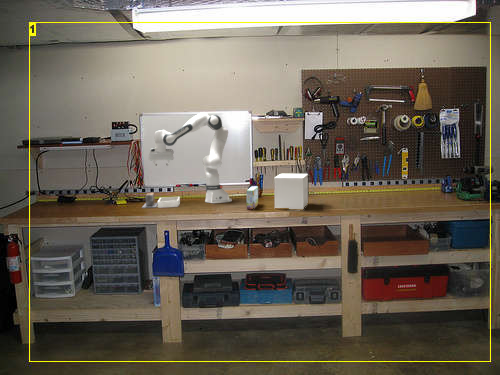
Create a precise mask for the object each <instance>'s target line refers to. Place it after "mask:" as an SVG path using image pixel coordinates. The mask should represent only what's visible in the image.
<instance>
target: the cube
mask: <svg viewBox="0 0 500 375" xmlns="http://www.w3.org/2000/svg"><path fill="white" fill-rule="evenodd" d="M308 176H309V174H308V173H280V174H278V175H276V176H274V177H273V178H274V182H273V185H274V190H273V191H274V209H275V208H289V209H304V207H305V206H306V205H307V206H308V204H307V203H309V202H308V201H309V197H308V196H309V180H308V179H309V177H308ZM307 206H306V207H307ZM306 207H305V208H306ZM304 210H305V209H304Z"/></svg>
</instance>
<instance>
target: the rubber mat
mask: <svg viewBox="0 0 500 375" xmlns="http://www.w3.org/2000/svg"><path fill="white" fill-rule="evenodd" d="M156 208H158V202H155V204H154V205H153V206H148V207H146V202H145V203H144V204H143V205H142V207H141V209H156Z"/></svg>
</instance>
